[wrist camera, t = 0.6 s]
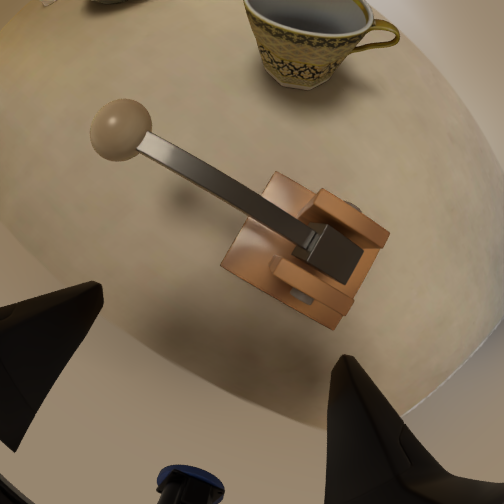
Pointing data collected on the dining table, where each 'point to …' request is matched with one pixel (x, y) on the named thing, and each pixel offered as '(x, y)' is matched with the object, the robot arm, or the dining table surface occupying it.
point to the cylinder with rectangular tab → (47, 2)
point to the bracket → (294, 270)
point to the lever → (220, 187)
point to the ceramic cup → (311, 36)
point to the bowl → (109, 1)
